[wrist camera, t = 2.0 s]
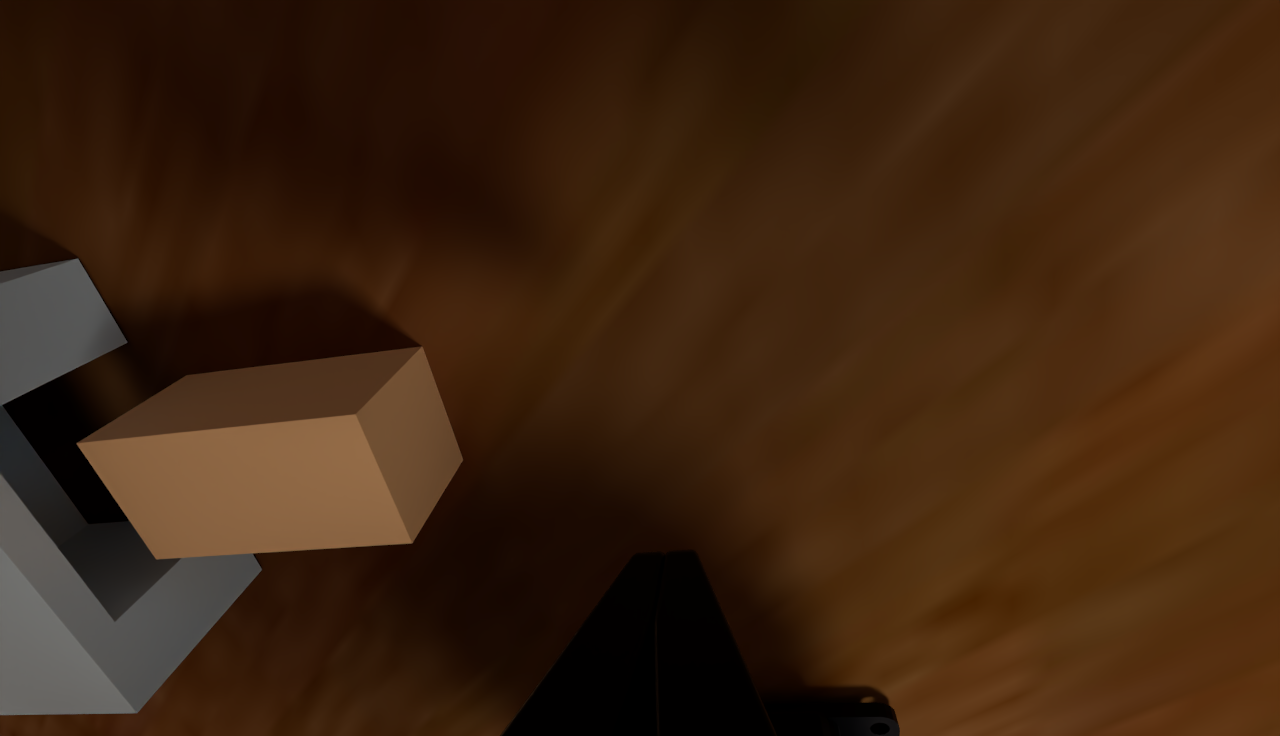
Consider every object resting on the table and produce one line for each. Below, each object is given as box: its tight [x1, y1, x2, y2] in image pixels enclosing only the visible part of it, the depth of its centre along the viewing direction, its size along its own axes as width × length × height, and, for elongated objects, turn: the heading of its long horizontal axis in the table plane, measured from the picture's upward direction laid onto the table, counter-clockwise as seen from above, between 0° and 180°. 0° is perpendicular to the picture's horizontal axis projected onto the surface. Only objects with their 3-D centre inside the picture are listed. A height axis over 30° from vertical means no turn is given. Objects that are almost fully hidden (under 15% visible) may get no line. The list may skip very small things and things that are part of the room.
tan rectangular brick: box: [76, 347, 463, 559], centre depth 13 cm, size 3×6×3 cm, turn 100°
